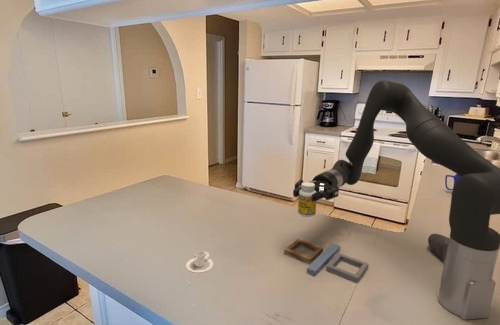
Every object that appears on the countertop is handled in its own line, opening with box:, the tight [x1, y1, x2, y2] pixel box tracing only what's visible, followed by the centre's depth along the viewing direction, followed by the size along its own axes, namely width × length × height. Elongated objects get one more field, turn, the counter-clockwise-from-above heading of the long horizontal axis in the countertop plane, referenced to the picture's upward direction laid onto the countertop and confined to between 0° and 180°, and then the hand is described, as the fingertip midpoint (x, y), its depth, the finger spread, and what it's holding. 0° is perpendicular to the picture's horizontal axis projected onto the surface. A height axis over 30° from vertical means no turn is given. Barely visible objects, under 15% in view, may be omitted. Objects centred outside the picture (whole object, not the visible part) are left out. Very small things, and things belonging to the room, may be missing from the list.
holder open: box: [325, 252, 369, 284], centre depth 87 cm, size 9×9×2 cm
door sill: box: [306, 243, 341, 277], centre depth 91 cm, size 18×2×2 cm, turn 142°
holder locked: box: [283, 238, 324, 265], centre depth 95 cm, size 9×9×2 cm
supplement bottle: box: [297, 181, 317, 218], centre depth 91 cm, size 5×5×10 cm
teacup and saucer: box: [185, 250, 214, 274], centre depth 88 cm, size 9×8×4 cm
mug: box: [444, 173, 460, 191], centre depth 151 cm, size 8×12×10 cm
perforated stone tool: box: [427, 233, 449, 262], centre depth 93 cm, size 15×5×7 cm, turn 4°
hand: (303, 196), depth 89 cm, fingers closed on supplement bottle, 5 cm apart
